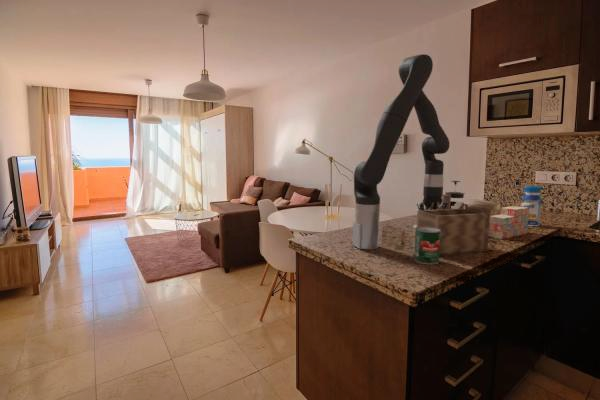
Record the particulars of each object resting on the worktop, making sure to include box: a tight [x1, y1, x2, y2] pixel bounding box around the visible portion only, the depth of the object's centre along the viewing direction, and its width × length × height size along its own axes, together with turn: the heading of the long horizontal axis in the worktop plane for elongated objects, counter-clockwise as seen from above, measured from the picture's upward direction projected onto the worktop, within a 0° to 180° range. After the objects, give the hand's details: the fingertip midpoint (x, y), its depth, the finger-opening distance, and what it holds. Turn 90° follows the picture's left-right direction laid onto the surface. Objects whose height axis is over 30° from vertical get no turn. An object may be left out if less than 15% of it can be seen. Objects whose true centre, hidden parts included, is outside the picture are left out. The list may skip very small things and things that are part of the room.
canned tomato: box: [413, 227, 441, 265], centre depth 110 cm, size 8×8×11 cm
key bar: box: [468, 198, 501, 211], centre depth 124 cm, size 3×12×2 cm, turn 14°
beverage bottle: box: [520, 185, 543, 227], centre depth 166 cm, size 8×8×20 cm
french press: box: [445, 180, 469, 209], centre depth 164 cm, size 12×9×23 cm
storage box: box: [416, 208, 486, 257], centre depth 122 cm, size 20×12×14 cm, turn 104°
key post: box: [466, 205, 492, 252], centre depth 125 cm, size 4×8×16 cm, turn 14°
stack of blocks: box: [489, 205, 529, 240], centre depth 146 cm, size 21×6×12 cm, turn 121°
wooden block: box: [442, 193, 464, 209], centre depth 150 cm, size 4×11×18 cm, turn 113°
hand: (431, 225), depth 137 cm, fingers closed on lid, 3 cm apart
